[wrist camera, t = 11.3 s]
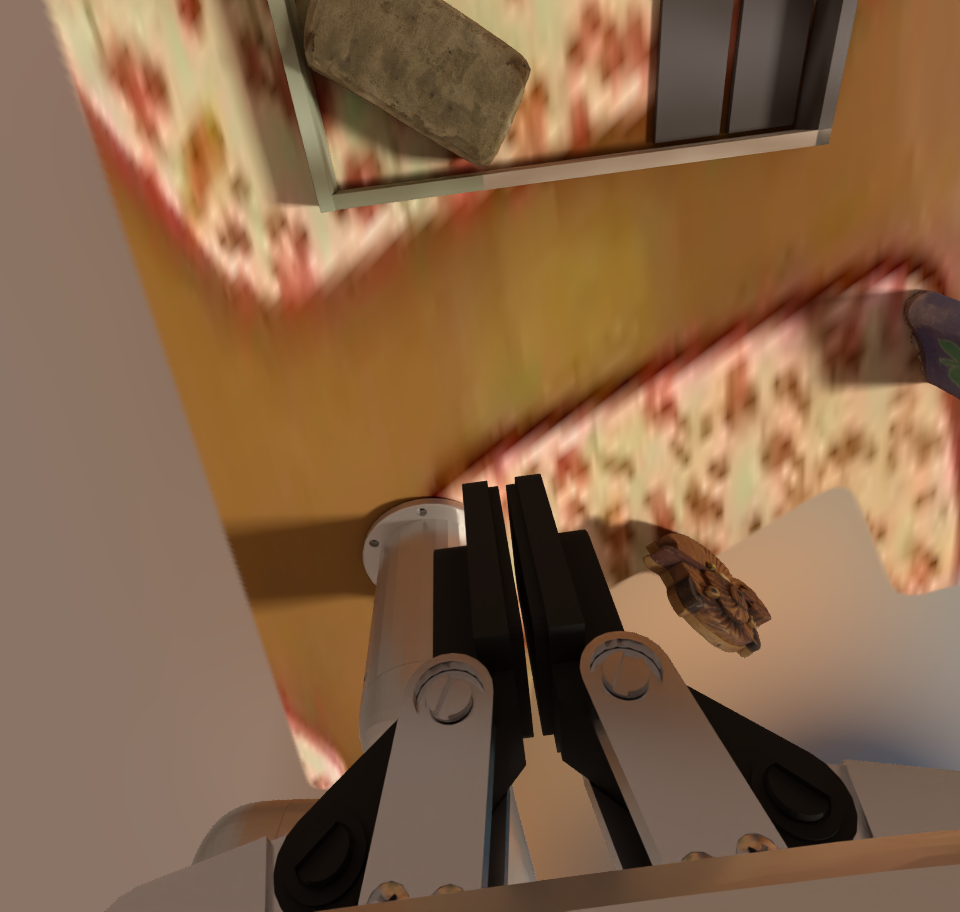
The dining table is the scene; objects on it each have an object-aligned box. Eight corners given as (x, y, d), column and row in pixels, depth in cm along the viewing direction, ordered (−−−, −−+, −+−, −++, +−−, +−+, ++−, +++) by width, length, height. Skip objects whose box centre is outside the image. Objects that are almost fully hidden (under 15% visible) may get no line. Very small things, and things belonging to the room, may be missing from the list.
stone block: (484, 169, 34) (490, 176, 30) (306, 66, 31) (284, 57, 26) (529, 69, 31) (543, 61, 27) (340, -55, 28) (322, -87, 24)
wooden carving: (761, 570, 55) (821, 652, 46) (728, 597, 57) (779, 681, 48) (647, 503, 49) (691, 582, 41) (614, 536, 51) (649, 618, 42)
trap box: (804, 142, 34) (833, 144, 32) (329, 206, 34) (320, 212, 32) (876, -250, 25) (924, -291, 23) (239, -164, 25) (218, -195, 23)
